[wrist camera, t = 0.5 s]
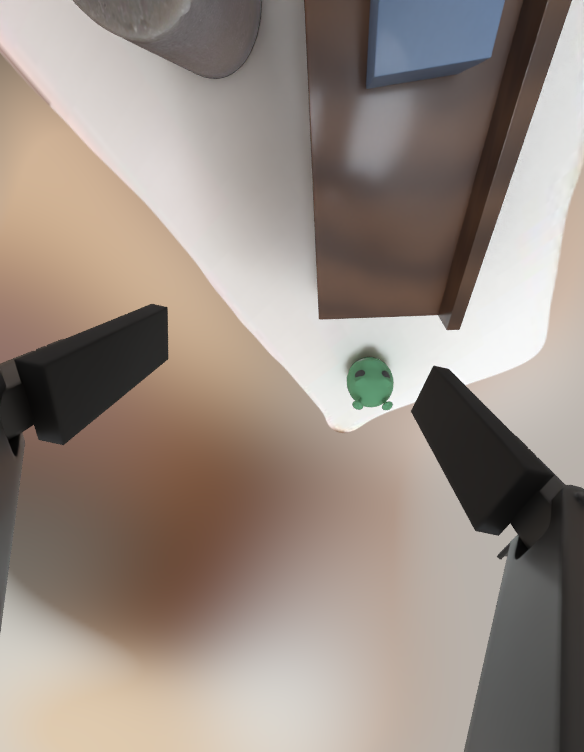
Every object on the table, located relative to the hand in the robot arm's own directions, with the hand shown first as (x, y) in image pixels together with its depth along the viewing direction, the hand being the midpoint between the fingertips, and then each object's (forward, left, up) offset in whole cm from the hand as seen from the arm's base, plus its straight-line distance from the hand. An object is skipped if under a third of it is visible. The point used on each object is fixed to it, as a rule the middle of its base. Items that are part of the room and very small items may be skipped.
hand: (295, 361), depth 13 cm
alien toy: (+4, +22, -27) cm, 35 cm away
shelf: (-9, -1, -26) cm, 28 cm away
